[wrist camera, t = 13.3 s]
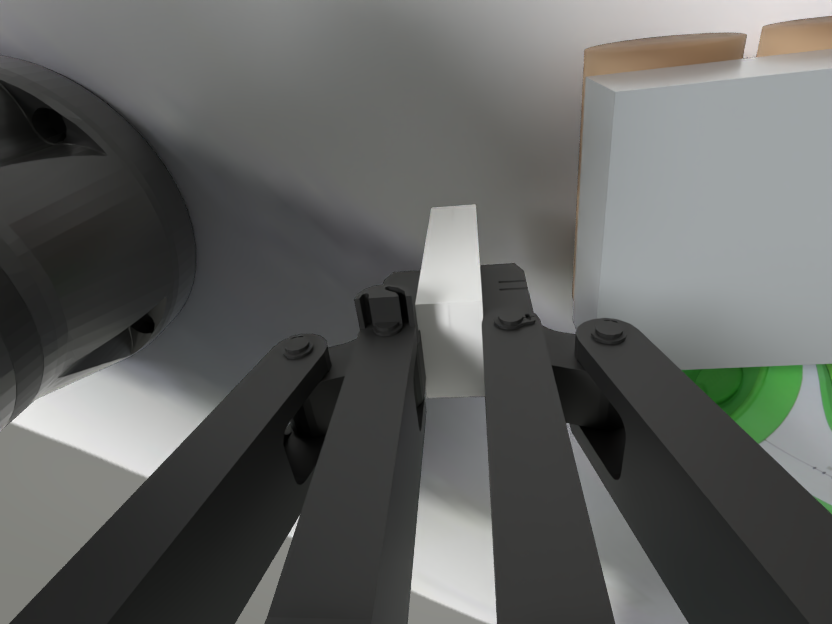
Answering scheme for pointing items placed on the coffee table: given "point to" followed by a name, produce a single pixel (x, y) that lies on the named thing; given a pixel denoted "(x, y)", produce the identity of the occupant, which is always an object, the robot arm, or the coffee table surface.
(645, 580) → the coffee table surface
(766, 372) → the speaker
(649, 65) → the roller bed
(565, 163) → the coffee table surface
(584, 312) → the slab
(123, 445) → the coffee table surface
